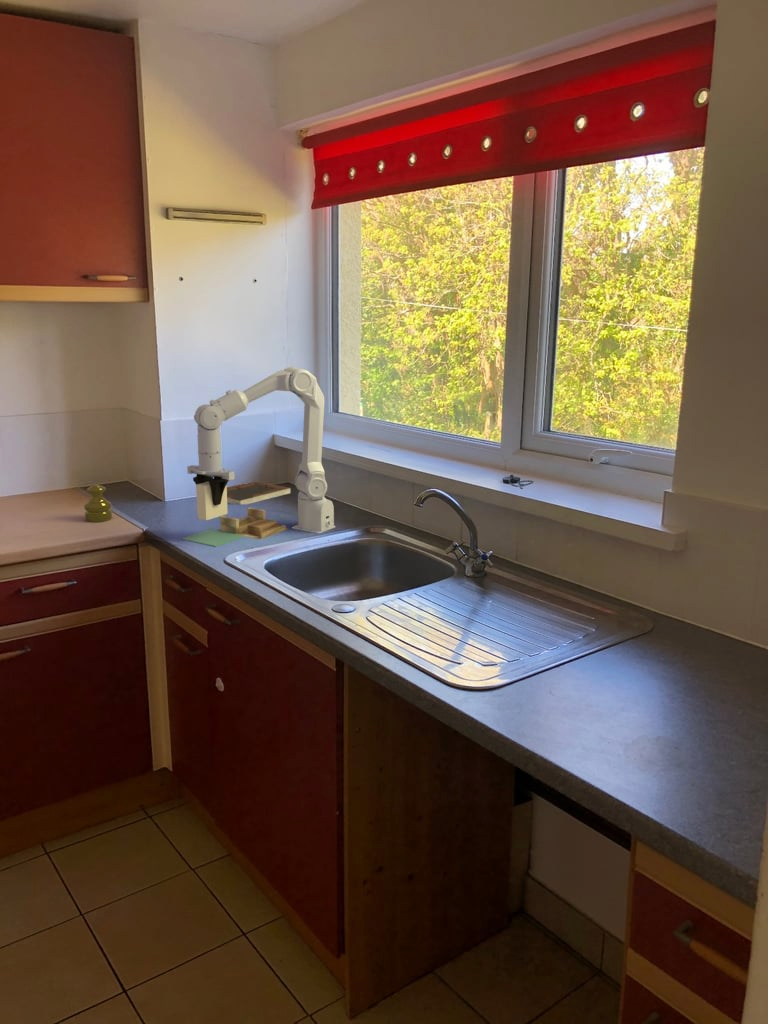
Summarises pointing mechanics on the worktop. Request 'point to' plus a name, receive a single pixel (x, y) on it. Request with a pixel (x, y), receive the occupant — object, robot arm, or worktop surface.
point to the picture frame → (254, 492)
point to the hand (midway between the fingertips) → (211, 503)
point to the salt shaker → (97, 505)
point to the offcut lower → (259, 532)
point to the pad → (213, 537)
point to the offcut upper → (262, 525)
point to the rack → (241, 524)
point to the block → (209, 502)
